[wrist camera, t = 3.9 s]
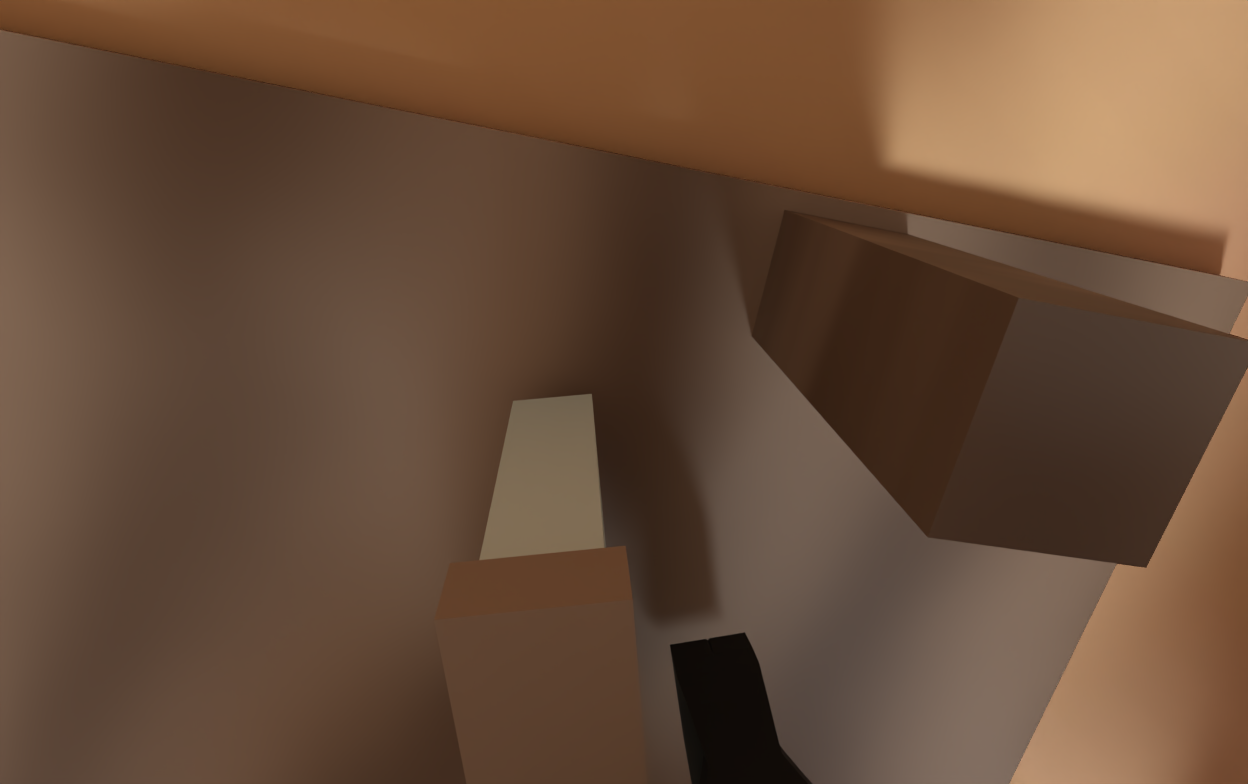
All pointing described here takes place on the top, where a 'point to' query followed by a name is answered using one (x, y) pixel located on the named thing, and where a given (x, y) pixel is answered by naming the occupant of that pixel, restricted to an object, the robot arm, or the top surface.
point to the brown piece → (478, 419)
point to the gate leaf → (544, 618)
